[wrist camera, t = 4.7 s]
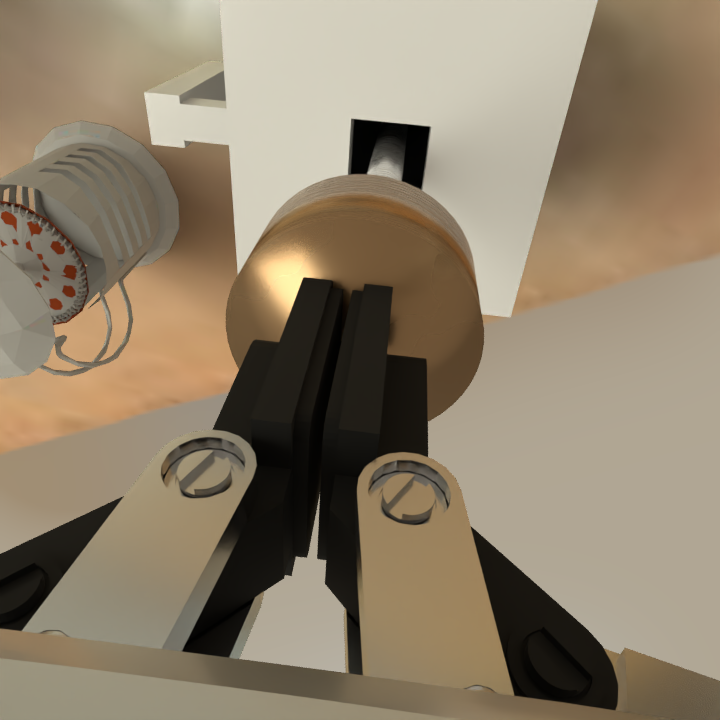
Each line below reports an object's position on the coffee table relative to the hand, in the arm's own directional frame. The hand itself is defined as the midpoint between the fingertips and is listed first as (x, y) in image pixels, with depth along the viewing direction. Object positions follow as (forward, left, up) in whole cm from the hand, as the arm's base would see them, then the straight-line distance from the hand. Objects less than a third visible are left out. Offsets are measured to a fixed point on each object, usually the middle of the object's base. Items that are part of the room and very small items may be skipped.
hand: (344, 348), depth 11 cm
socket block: (+2, 0, -25) cm, 25 cm away
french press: (+18, +9, -25) cm, 32 cm away
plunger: (0, 0, -18) cm, 18 cm away
